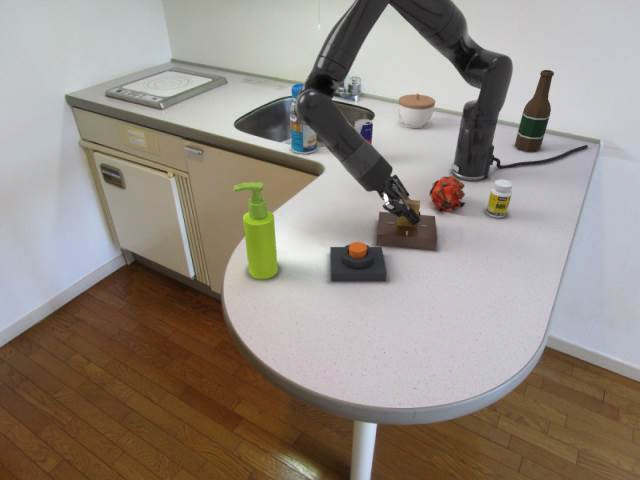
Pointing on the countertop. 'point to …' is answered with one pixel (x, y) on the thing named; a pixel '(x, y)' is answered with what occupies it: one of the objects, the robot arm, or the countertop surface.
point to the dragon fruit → (447, 193)
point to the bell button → (357, 250)
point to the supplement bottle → (499, 199)
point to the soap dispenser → (259, 233)
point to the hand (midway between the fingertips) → (417, 219)
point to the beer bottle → (535, 116)
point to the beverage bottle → (301, 130)
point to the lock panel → (406, 233)
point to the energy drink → (365, 129)
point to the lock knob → (415, 207)
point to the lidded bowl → (415, 110)
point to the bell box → (357, 265)
